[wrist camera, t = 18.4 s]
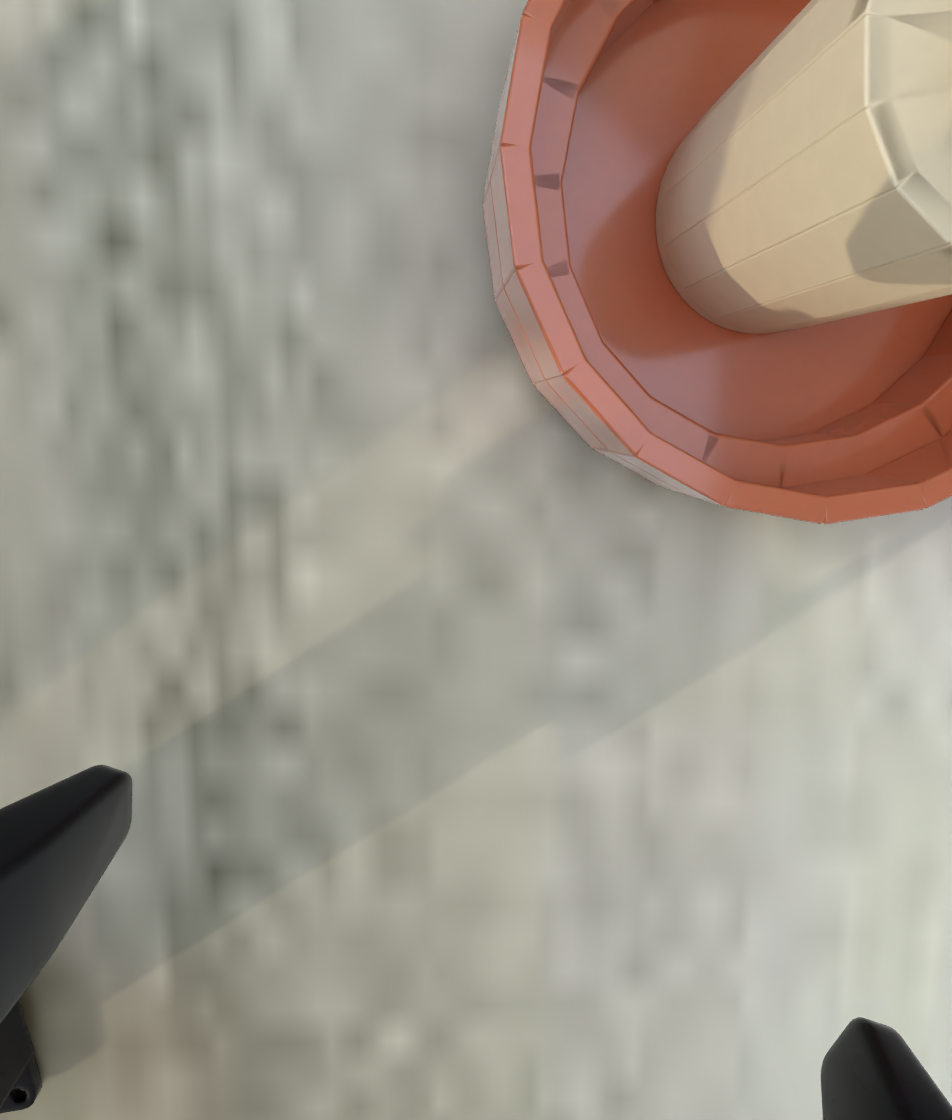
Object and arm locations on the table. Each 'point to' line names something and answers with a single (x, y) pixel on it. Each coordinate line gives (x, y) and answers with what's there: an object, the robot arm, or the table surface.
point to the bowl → (656, 306)
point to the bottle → (820, 173)
